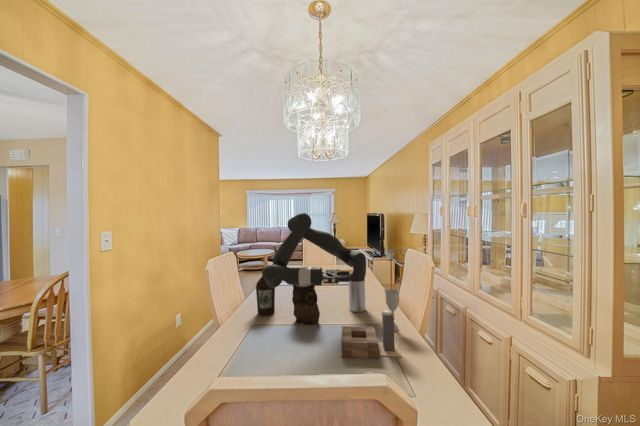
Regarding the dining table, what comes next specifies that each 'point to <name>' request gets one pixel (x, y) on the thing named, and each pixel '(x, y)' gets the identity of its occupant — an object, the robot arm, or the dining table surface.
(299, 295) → the brown owl figurine
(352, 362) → the dining table surface
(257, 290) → the olive oil
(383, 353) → the pad
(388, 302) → the chalice
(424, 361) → the dining table surface
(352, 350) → the wooden square socket block
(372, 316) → the dining table surface
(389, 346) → the plug
